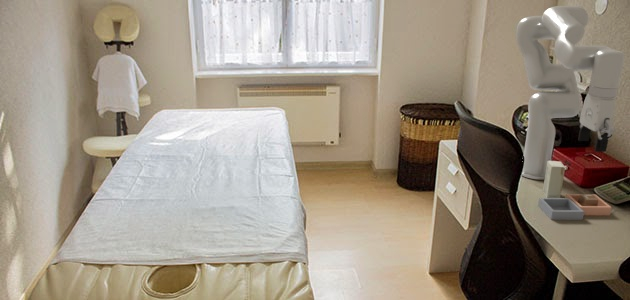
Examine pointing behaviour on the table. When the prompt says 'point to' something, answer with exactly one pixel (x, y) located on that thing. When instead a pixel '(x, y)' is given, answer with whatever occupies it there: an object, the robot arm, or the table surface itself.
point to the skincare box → (553, 179)
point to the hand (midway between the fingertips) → (591, 145)
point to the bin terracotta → (592, 210)
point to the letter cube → (587, 200)
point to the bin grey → (560, 209)
